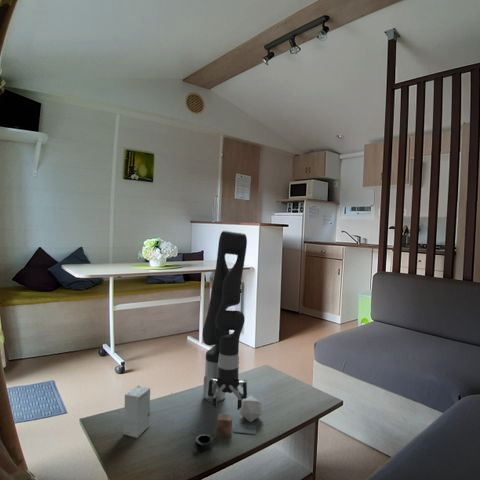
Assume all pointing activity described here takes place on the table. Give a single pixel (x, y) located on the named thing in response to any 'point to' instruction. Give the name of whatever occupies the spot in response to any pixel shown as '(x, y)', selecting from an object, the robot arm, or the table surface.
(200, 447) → the black round bracket
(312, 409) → the table surface
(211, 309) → the robot arm
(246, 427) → the pad
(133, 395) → the skincare box
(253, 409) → the die
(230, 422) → the brown rectangular block
